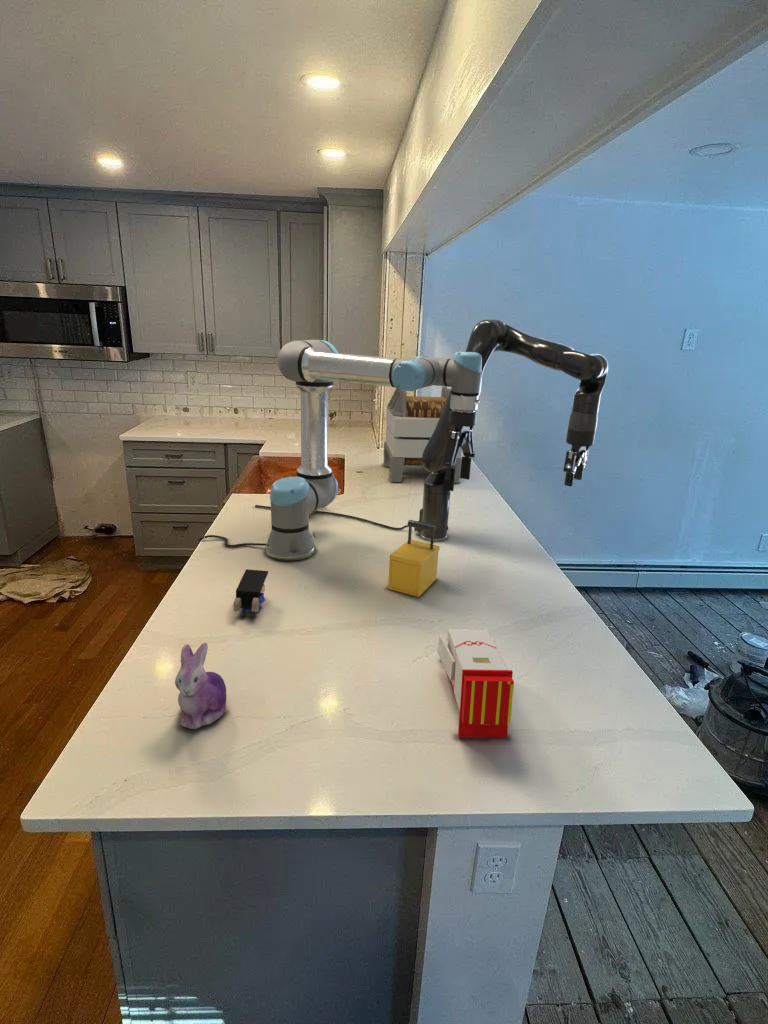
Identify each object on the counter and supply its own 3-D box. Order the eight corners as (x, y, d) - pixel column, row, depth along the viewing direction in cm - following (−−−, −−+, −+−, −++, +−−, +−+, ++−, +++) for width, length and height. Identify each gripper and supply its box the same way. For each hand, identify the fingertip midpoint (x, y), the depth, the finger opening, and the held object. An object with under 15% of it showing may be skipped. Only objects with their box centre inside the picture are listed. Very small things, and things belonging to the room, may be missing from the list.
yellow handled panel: (409, 543, 169) (411, 516, 166) (439, 550, 165) (441, 522, 162) (389, 559, 157) (391, 530, 155) (421, 567, 153) (423, 537, 151)
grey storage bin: (382, 463, 289) (386, 382, 275) (445, 464, 293) (451, 384, 279) (390, 482, 257) (394, 392, 243) (460, 483, 261) (468, 394, 247)
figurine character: (260, 625, 142) (270, 591, 155) (258, 600, 138) (268, 567, 152) (233, 624, 141) (245, 590, 155) (230, 599, 138) (243, 567, 152)
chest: (407, 571, 171) (408, 544, 168) (436, 579, 167) (438, 551, 164) (388, 588, 161) (389, 559, 157) (418, 597, 157) (421, 567, 154)
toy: (488, 613, 130) (523, 677, 101) (484, 667, 133) (517, 744, 104) (435, 612, 130) (455, 676, 101) (432, 666, 133) (451, 743, 103)
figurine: (182, 738, 102) (175, 668, 97) (173, 704, 111) (167, 638, 106) (234, 723, 106) (231, 655, 101) (222, 691, 115) (218, 627, 110)
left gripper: (461, 418, 144) (454, 497, 151) (490, 406, 165) (482, 476, 172) (433, 415, 147) (428, 492, 154) (465, 403, 168) (459, 472, 175)
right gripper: (576, 422, 167) (568, 475, 173) (560, 429, 156) (552, 485, 162) (602, 426, 163) (593, 480, 169) (587, 433, 152) (578, 490, 158)
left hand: (456, 484), depth 163 cm, fingers open, 13 cm apart
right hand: (573, 482), depth 165 cm, fingers open, 8 cm apart
